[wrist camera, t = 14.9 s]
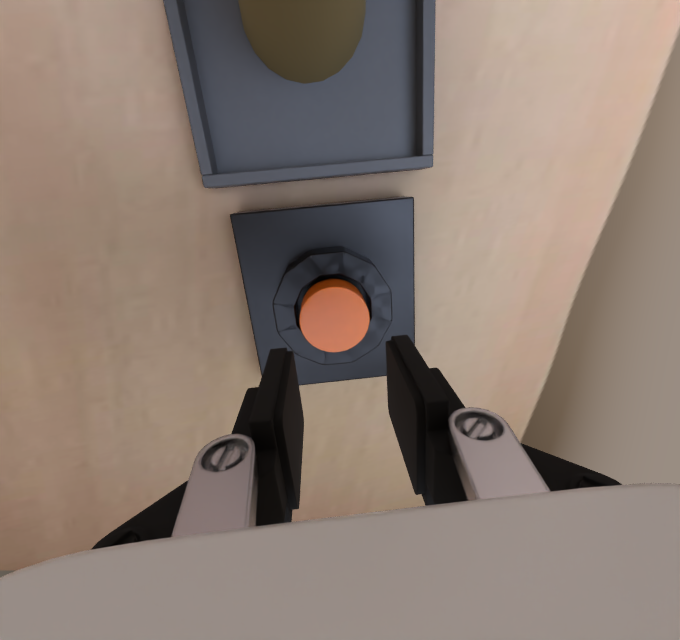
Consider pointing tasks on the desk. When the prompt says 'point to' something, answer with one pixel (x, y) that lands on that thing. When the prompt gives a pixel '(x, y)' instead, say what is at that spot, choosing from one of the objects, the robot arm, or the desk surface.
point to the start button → (334, 315)
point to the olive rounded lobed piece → (304, 35)
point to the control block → (328, 263)
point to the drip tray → (306, 98)
